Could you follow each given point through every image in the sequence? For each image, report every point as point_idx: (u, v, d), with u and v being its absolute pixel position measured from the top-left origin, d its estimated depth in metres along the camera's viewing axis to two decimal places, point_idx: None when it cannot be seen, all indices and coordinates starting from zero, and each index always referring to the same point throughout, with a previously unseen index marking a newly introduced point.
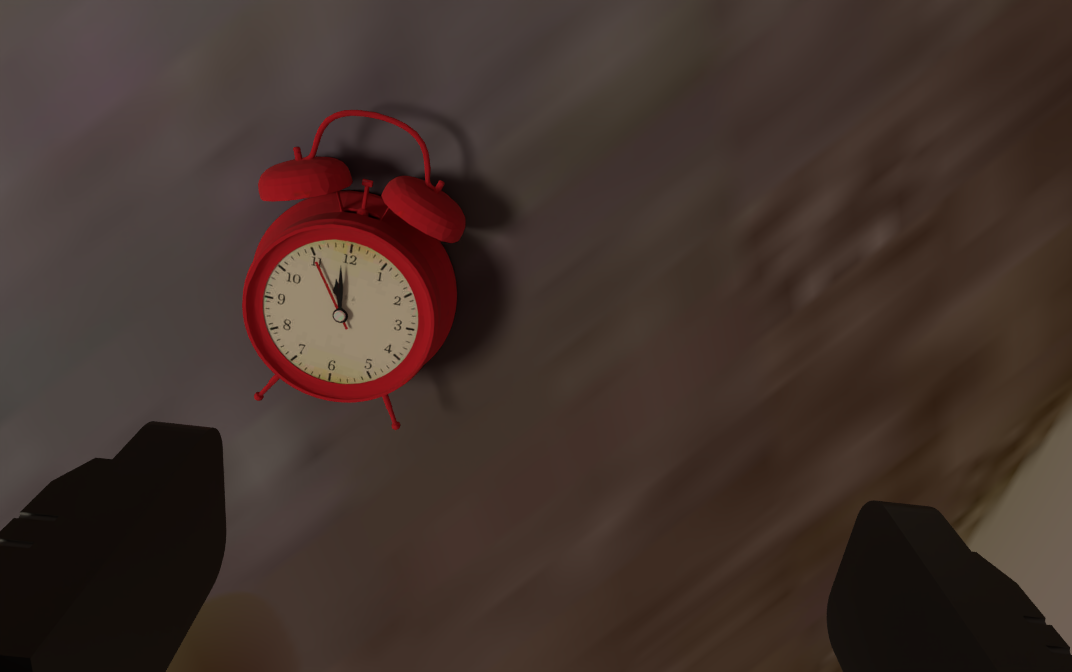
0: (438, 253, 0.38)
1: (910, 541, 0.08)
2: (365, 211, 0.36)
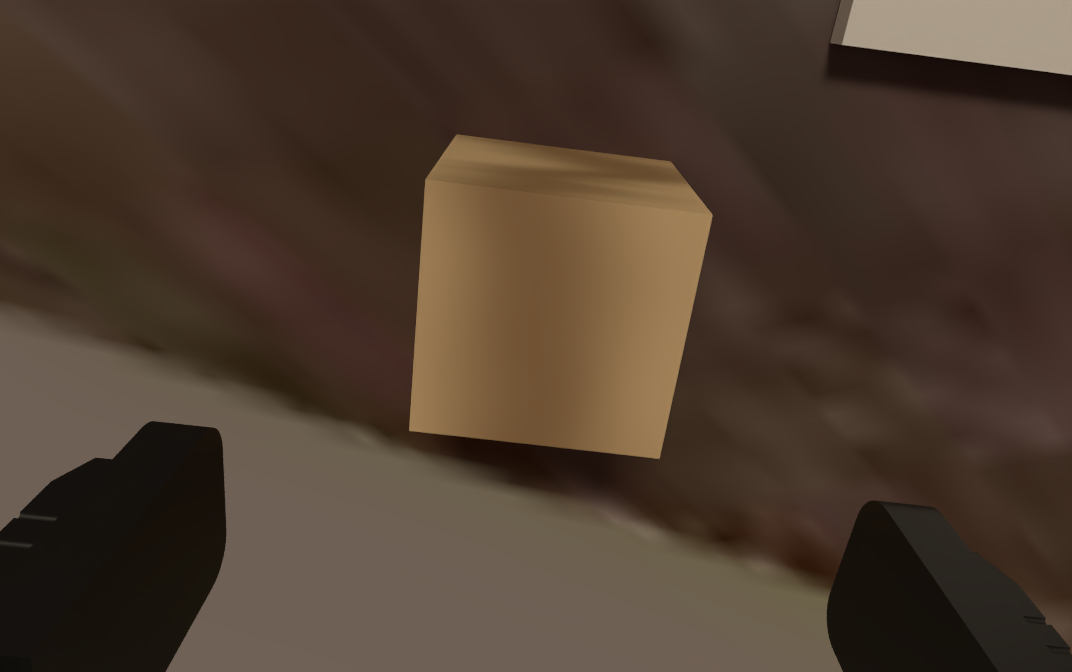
0: None
1: (910, 541, 0.08)
2: None
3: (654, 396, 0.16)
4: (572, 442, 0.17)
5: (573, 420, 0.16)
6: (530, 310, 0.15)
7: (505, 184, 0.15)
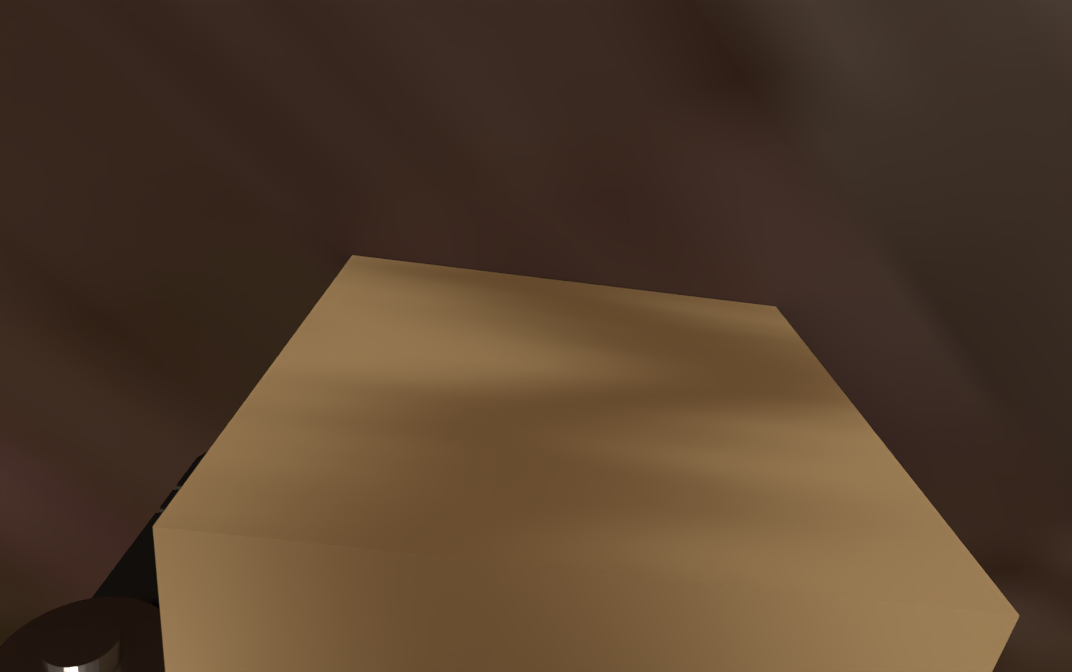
0: None
1: None
2: None
3: None
4: None
5: None
6: None
7: (409, 505, 0.05)
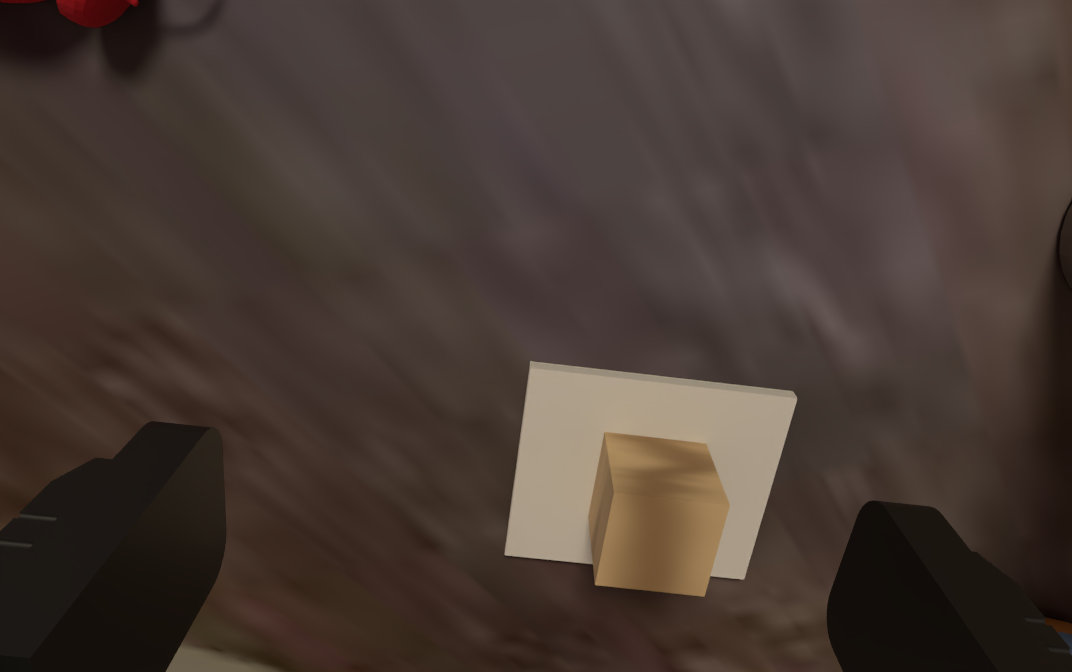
0: None
1: (910, 541, 0.08)
2: None
3: (703, 571, 0.37)
4: (666, 589, 0.38)
5: (667, 581, 0.38)
6: (652, 538, 0.37)
7: (644, 490, 0.36)
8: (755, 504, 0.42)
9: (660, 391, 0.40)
